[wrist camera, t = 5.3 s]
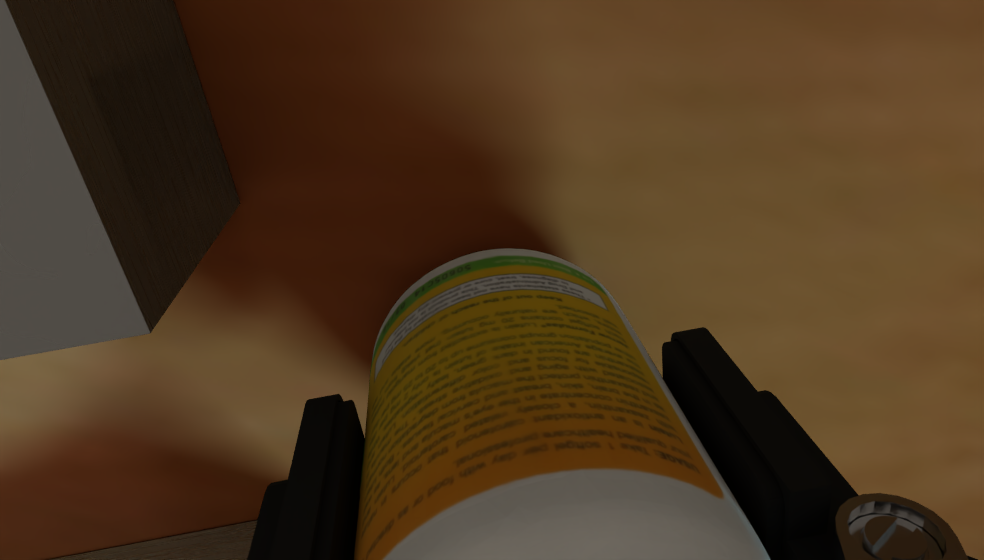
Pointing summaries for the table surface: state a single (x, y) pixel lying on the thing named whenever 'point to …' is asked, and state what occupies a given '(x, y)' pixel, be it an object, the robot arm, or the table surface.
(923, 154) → the table surface
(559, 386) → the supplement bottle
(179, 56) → the channel bracket
